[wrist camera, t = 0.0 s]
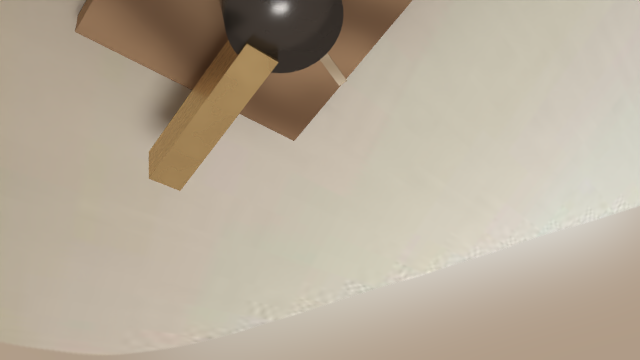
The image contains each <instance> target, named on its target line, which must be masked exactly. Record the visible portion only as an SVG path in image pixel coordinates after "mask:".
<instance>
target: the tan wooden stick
mask: <svg viewBox="0 0 640 360" xmlns="http://www.w3.org/2000/svg"><path fill="white" fill-rule="evenodd" d="M219 1H220V6H221V11H222V16H223V20H224V25H225V30H226V34H227V38H228V41H227V42H226V43H225V45H224V46H223V48H222V49H221V50H220V52H219V53H218V55H217V56H216V57H215V59H214V60H213V62H212V63H211V65H210V66H209V67H208V69H207V70H206V72H205V73H204V74H203V76H202V77H201V79H200V80H199V82H198V83H197V84H196V86H195V87H194V89H193V90H192V91H191V93H190V94H189V96H188V97H187V99H186V100H185V101H184V103H183V104H182V106H181V107H180V108H179V110H178V111H177V113H176V114H175V116H174V117H173V118H172V120H171V121H170V123H169V124H168V125H167V127H166V128H165V130H164V131H163V133H162V134H161V135H160V137H159V138H158V140H157V141H156V142H155V144H154V145H153V147H152V148H151V149H150V151H149V179H152V180H154V181H157V182H159V183H162V184H164V185H167V186H169V187H172V188H174V189H177V190H179V191H180V190H181V189H182V188H183V186H184V185H185V184H186V182H187V181H188V180H189V179H190V177H191V176H192V175H193V173H194V172H195V171H196V169H197V168H198V167H199V166H200V164H201V163H202V162H203V160H204V159H205V158H206V156H207V155H208V154H209V153H210V151H211V150H212V149H213V147H214V146H215V145H216V143H217V142H218V141H219V139H220V138H221V137H222V136H223V134H224V133H225V132H226V130H227V129H228V128H229V126H230V125H231V124H232V123H233V121H234V120H235V119H236V117H237V116H238V115H239V113H240V112H241V111H242V109H243V108H244V107H245V106H246V104H247V103H248V102H249V100H250V99H251V98H252V96H253V95H254V94H255V93H256V91H257V90H258V89H259V87H260V86H261V85H262V83H263V82H264V81H265V79H266V78H267V77H268V76H269V74H270V73H290V72H295V71H299V70H302V69H304V68H307V67H309V66H311V65H313V64H314V63H316V62H317V61H319V60H320V59H321V58H323V57H324V56H325V55H326V54H327V53H328V52H329V51H330V49H331V48H332V47H333V45H334V44H335V42H336V40H337V38H338V37H339V34H340V31H341V28H342V24H343V16H344V15H343V4H342V0H219Z"/></svg>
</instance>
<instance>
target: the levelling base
mask: <svg viewBox="0 0 640 360" xmlns="http://www.w3.org/2000/svg"><path fill="white" fill-rule="evenodd" d="M411 1H412V0H342V4H343V15H344V16H343V24H342V28H341V31H340V34H339V37H338V38H337V40H336V42H335V44H334V45H333V47H332V48H331V49H330V51H329V52H328V53H327V54H326V55H325V56H324V57H323V58H321V59H320V60H319V61H317V62H316V63H314V64H313V65H311V66H309V67H307V68H304V69H302V70H299V71H295V72H290V73H270V74H269V76H268V77H267V78H266V79H265V81H264V82H263V83H262V85H261V86H260V87H259V89H258V90H257V91H256V93H255V94H254V95H253V96H252V98H251V99H250V100H249V102H248V103H247V104H246V106H245V107H244V108H243V109H242V111H241V112H240V113H239V114H241V115H243V116H245V117H247V118H249V119H251V120H253V121H255V122H257V123H259V124H261V125H263V126H265V127H267V128H269V129H271V130H273V131H275V132H277V133H279V134H281V135H283V136H285V137H287V138H289V139H291V140H293V141H294V140H295V139H296V138H297V137H298V136H299V134H300V133H301V132H302V131H303V130H304V128H305V127H306V126H307V125H308V124H309V123H310V121H311V120H312V119H313V118H314V117H315V115H316V114H317V113H318V112H319V111H320V109H321V108H322V107H323V106H324V105H325V103H326V102H327V101H328V100H329V99H330V98H331V96H332V95H333V94H334V93H335V92H336V90H337V89H338V88H339V87H340V86H341V84H343V83H344V82H346V81H347V80H346V79H347V77H348V76H349V75H350V74H351V73H352V71H353V70H354V69H355V68H356V67H357V65H358V64H359V63H360V62H361V61H362V59H363V58H364V57H365V56H366V55H367V54H368V52H369V51H370V50H371V49H372V48H373V46H374V45H375V44H376V43H377V42H378V40H379V39H380V38H381V37H382V36H383V34H384V33H385V32H386V31H387V30H388V29H389V27H390V26H391V25H392V24H393V23H394V21H395V20H396V19H397V18H398V17H399V15H400V14H401V13H402V12H403V11H404V10H405V8H406V7H407V6H408V5H409V4H410V2H411ZM75 32H77V33H79V34H81V35H83V36H85V37H87V38H89V39H91V40H93V41H95V42H97V43H99V44H101V45H103V46H105V47H107V48H109V49H111V50H113V51H115V52H117V53H119V54H121V55H123V56H125V57H127V58H129V59H131V60H133V61H135V62H137V63H139V64H141V65H143V66H145V67H147V68H149V69H151V70H153V71H155V72H157V73H159V74H161V75H163V76H165V77H167V78H169V79H171V80H173V81H175V82H177V83H179V84H181V85H183V86H185V87H187V88H189V89H191V90H193V89H194V87H195V86H196V84H197V83H198V82H199V80H200V79H201V77H202V76H203V74H204V73H205V72H206V70H207V69H208V67H209V66H210V65H211V63H212V62H213V60H214V59H215V57H216V56H217V55H218V53H219V52H220V50H221V49H222V48H223V46H224V45H225V43H226V42H227V41H228V38H227V34H226V30H225V25H224V20H223V16H222V11H221V6H220V1H219V0H86V2H85V4H84V6H83V7H82V9H81V11H80V13H79V15H78V19H77V24H76V29H75Z"/></svg>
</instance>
